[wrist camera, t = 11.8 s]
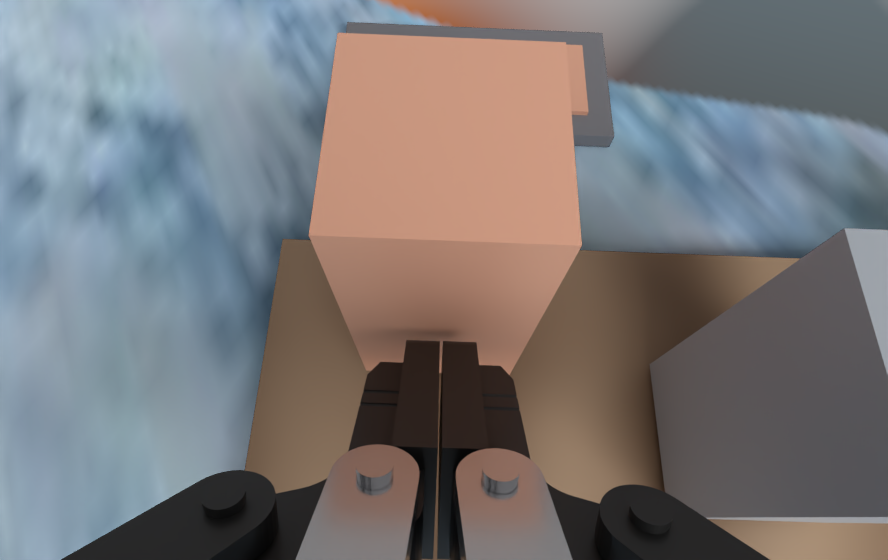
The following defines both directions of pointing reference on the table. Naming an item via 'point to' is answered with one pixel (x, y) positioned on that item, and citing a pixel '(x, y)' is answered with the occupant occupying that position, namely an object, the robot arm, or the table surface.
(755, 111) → the table surface
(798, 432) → the grey rectangular block
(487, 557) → the robot arm
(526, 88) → the salmon pink block
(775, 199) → the table surface
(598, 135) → the card
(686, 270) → the keypad base
